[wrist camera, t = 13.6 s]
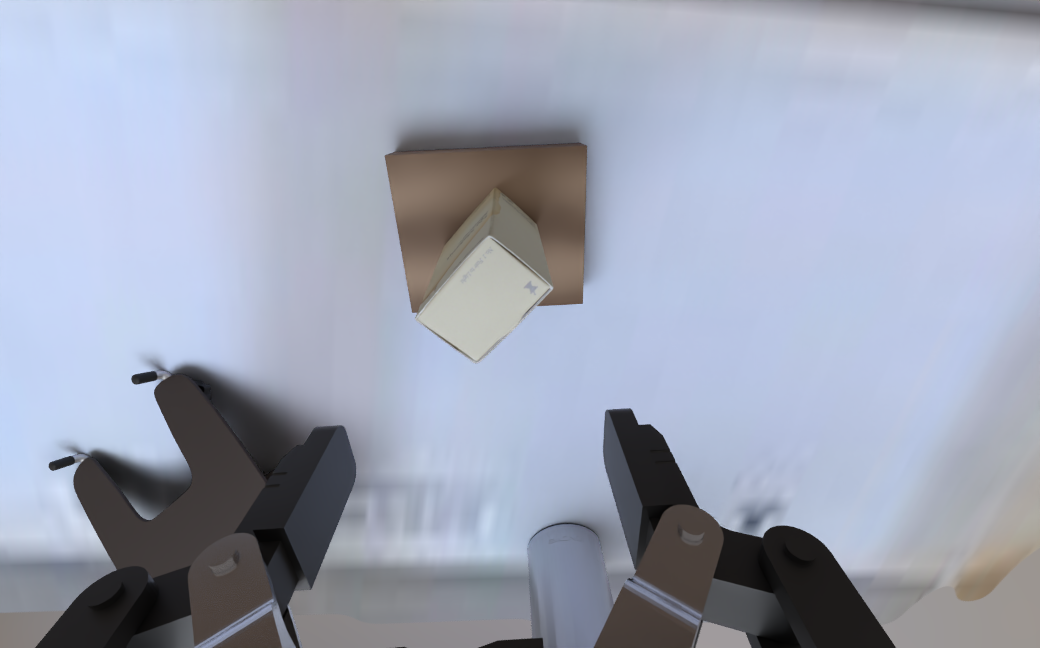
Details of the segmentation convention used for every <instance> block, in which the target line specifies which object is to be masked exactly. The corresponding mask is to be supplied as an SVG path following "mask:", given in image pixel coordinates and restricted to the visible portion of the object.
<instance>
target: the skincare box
mask: <svg viewBox="0 0 1040 648" xmlns="http://www.w3.org/2000/svg"><path fill="white" fill-rule="evenodd" d="M552 290H553V284H552V280H551V276H550V273H549V269H548V265H547V261H546V257H545V254H544V250H543V246H542V242H541V239H540V235H539V230H538V227H537V224H536V223H535V222H534V221H533V220H532V219H531V218H530V217H529V216H527V215H526V214H525V213H524V212H523V211H522V210H521V209H520V208H519V207H518V206H517V205H516V204H515V203H514V202H512V201H511V200H510V199H509V198H508V197H507V196H506V195H504V194H503V193H502V192H501V191H500V190H499V189H497V188H494V189H493V190H492V191H491V192H490V193H489V194H488V196H487V197H486V198H485V199H484V200H483V201H482V202H481V203H480V204H479V206H478V207H477V208H476V209H475V210H474V211H473V212H472V214H471V215H470V216H469V217H468V218H467V219H466V221H465V222H464V223H463V224H462V225H461V227H460V228H459V229H458V230H457V231H456V233H455V234H454V235H453V236H452V237H451V239H450V240H449V241H448V242H447V243H446V245H445V246H444V248H443V250H442V253H441V255H440V258H439V260H438V262H437V265H436V267H435V270H434V272H433V275H432V277H431V280H430V283H429V285H428V288H427V290H426V292H425V295H424V298H423V300H422V303H421V305H420V307H419V310H418V313H417V315H416V317H415V319H416V321H417V322H419V323H420V324H421V325H423V326H424V327H425V328H427V329H428V330H429V331H431V332H432V333H433V334H435V335H436V336H437V337H439V338H440V339H441V340H443V341H444V342H445V343H447V344H448V345H450V346H451V347H452V348H454V349H455V350H456V351H458V352H459V353H461V354H462V355H464V356H465V357H466V358H468V359H469V360H470V361H472V362H473V363H479V362H481V361H482V360H483V359H484V358H485V357H486V356H487V355H488V354H489V353H490V352H491V351H492V350H493V349H494V348H495V347H496V346H497V345H498V344H499V343H500V342H502V341H503V340H504V339H505V338H506V337H507V336H508V335H509V334H510V333H511V332H512V331H513V330H514V329H515V328H516V327H517V326H518V325H519V324H520V323H521V322H522V321H523V320H524V319H525V318H526V317H527V316H528V315H529V313H530V312H531V311H532V310H533V309H534V308H535V307H536V306H537V305H538V304H539V303H540V302H541V301H542V300H543V299H544V298H545V297H546V296H547V295H548V294H549V293H550V292H551V291H552Z"/></svg>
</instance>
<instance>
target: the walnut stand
mask: <svg viewBox="0 0 1040 648" xmlns="http://www.w3.org/2000/svg"><path fill="white" fill-rule="evenodd" d="M385 160H386V165H387V171H388V177H389V182H390V188H391V194H392V200H393V205H394V211H395V217H396V222H397V228H398V234H399V239H400V245H401V251H402V257H403V262H404V268H405V274H406V279H407V285H408V291H409V297H410V302H411V308H412V313H415V312H418V310H419V307H420V305H421V303H422V300H423V298H424V295H425V292H426V290H427V288H428V285H429V283H430V280H431V277H432V275H433V272H434V270H435V267H436V265H437V262H438V260H439V258H440V255H441V253H442V250H443V248H444V246H445V245H446V243H447V242H448V241H449V240H450V239H451V237H452V236H453V235H454V234H455V233H456V231H457V230H458V229H459V228H460V227H461V225H462V224H463V223H464V222H465V221H466V219H467V218H468V217H469V216H470V215H471V214H472V212H473V211H474V210H475V209H476V208H477V207H478V206H479V204H480V203H481V202H482V201H483V200H484V199H485V198H486V197H487V196H488V194H489V193H490V192H491V191H492V190H493V189H494V188H497V189H499V190H500V191H501V192H502V193H503V194H504V195H506V196H507V197H508V198H509V199H510V200H511V201H512V202H514V203H515V204H516V205H517V206H518V207H519V208H520V209H521V210H522V211H523V212H524V213H525V214H526V215H527V216H529V217H530V218H531V219H532V220H533V221H534V222H535V223H536V224H537V227H538V230H539V235H540V239H541V242H542V246H543V250H544V254H545V257H546V261H547V265H548V269H549V273H550V276H551V280H552V284H553V290H552V291H551V292H550V293H549V294H548V295H547V296H546V297H545V298H544V299H543V300H542V301H541V302H540V303H539V304H538V305H537V306H548V305H567V304H583V274H584V238H585V202H586V165H587V146H586V145H584V144H582V143H568V144H547V145H526V146H506V147H485V148H464V149H444V150H423V151H402V152H393V153H390V154H388V155H385Z"/></svg>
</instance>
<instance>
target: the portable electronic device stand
mask: <svg viewBox="0 0 1040 648" xmlns="http://www.w3.org/2000/svg"><path fill="white" fill-rule="evenodd" d="M131 379H132V382H133V383H134V384H141V383H146V382H151V381H155V380H158V379H162V380H163V381H162V382H161V383H160V384H159V385H157V387H156V388H155V390H154V395H155V398H156V401H157V403H158V405H159V407H160V410H161V412H162V414H163V416H164V418H165V420H166V422H167V425H168V427H169V429H170V431H171V433H172V435H173V437H174V439H175V441H176V443H177V444H178V446H179V448H180V450H181V452H182V454H183V455H184V457H185V459H186V461H187V463H188V465H189V467H190V470H191V473H192V483H191V485H190V487H189V489H188V490H187V491H186V492H185V493H184V494H182V495H181V496H180V497H179V498H178V499H177V500H176V501H175V502H173V503H172V504H171V505H170V506H169V507H168V508H166V509H165V510H164V511H163V512H162V513H160V514H159V515H158V516H157V517H155V518H154V519H153V520H146V519H144V518H142V517H141V516H140V515H139V514H138V513H137V512H136V510H135V509H134V508H133V506H132V505H131V503H130V502H129V501H128V499H127V498H126V497H125V495H124V494H123V492H122V491H121V490H120V488H119V487H118V486H117V485H116V483H115V482H114V481H113V480H112V478H111V477H110V476H109V475H108V474H107V472H106V471H105V470H104V469H103V468H102V466H101V465H100V464H99V463H98V462H97V460H96V459H94V458H93V457H90V456H88V455H86V454H77V455H73V456H69V457H65V458H62V459H59V460H56V461H53V462H50V463H49V468H50V470H52V471H54V470H57V469H60V468H63V467H66V466H69V465H72V464H74V463H77V462H81V464H80V465H79V467H78V468H77V470H76V472H75V475H74V481H73V482H74V489H75V492H76V494H77V496H78V498H79V500H80V502H81V504H82V506H83V508H84V510H85V512H86V514H87V516H88V518H89V520H90V522H91V524H92V526H93V528H94V529H95V531H96V533H97V535H98V537H99V539H100V540H101V542H102V544H103V546H104V548H105V549H106V551H107V553H108V555H109V557H110V558H111V560H112V562H113V563H114V565H115V567H116V569H117V570H119V569H122V568H125V567H130V566H140V567H143V568H145V569H146V570H147V572H148V573H149V574H150V576H151V577H152V578H154V577H157V576H160V575H163V574H166V573H169V572H172V571H175V570H178V569H181V568H184V567H187V566H190V565H192V564H193V562H194V561H195V559H196V558H197V557H198V556H199V555H200V554H201V553H202V552H203V551H204V550H205V549H206V548H207V547H208V546H210V545H211V544H213V543H214V542H216V541H218V540H219V539H221V538H224V537H226V536H229V535H232V534H234V532H235V531H236V529H237V528H238V526H239V524H240V523H241V521H242V520H243V518H244V517H245V515H246V514H247V512H248V511H249V509H250V507H251V506H252V504H253V503H254V501H255V500H256V498H257V497H258V495H259V493H260V492H261V490H262V489H263V488H265V484H266V483H267V481H268V480H269V478H270V476H273V472H274V470H273V471H271V472H270V473H269V474H268V475H267V476H266V477H265V476H264V475H263V473H262V472H261V470H260V469H259V467H258V466H257V465H256V463H255V462H254V460H253V459H252V457H251V456H250V454H249V453H248V451H247V450H246V448H245V447H244V446H243V444H242V443H241V441H240V440H239V439H238V437H237V436H236V434H235V433H234V432H233V430H232V429H231V428H230V426H229V425H228V424H227V422H226V421H225V420H224V418H223V417H222V416H221V414H220V413H219V412H218V410H217V409H216V408H215V406H214V405H213V404H212V403H211V401H210V400H211V395H210V389H211V387H210V385H208V384H204V383H203V382H202V381H201V380H198V381H193V380H192V379H191V378H190V377H188V376H186V375H184V374H176V375H172V374H170V373H169V372H167V371H162V370H159V371H151V372H146V373H141V374H135V375H133V376H132V378H131Z"/></svg>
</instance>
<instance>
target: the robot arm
mask: <svg viewBox="0 0 1040 648" xmlns="http://www.w3.org/2000/svg"><path fill="white" fill-rule="evenodd" d="M603 455H604V463H605V468H606V472H607V475H608V478H609V482H610V485H611V489H612V492H613V496H614V499H615V502H616V506H617V509H618V513H619V516H620V520H621V523H622V527H623V530H624V533H625V537H626V540H627V544H628V547H629V551H630V554H631V557H632V561H633V564H634V568H635V570H636V573H635V575H634V576H633V578H632V579H630V578H629V579H627V580H626V582H625V583H624V585H623V587H622V589H621V591H620V593H619V595H618V597H617V599H616V602H615V604H614V603H613V598H612V594H611V589H610V585H609V580H608V576H607V571H606V567H605V562H604V558H603V553H602V549H601V545H600V541H599V538H598V537H597V535H596V534H595V533H594V532H593V531H591V530H590V529H588V528H586V527H583V526H580V525H574V524H561V525H555V526H551V527H548V528H546V529H544V530H542V531H540V532H539V533H537V534H536V535H535V536H534V537H533V538H532V539H531V541H530V543H529V545H528V567H529V589H530V608H531V624H532V625H531V627H532V638H531V639H516V640H501V641H496V642H493V643H490V644H487V645H485V646H482V647H479V648H695V647H696V644H697V641H698V637H699V634H700V630H701V627H702V623H703V620H704V621H707V622H711V623H714V624H718V625H721V626H725V627H728V628H732V629H735V630H739V631H742V632H746V635H747V637H748V640H749V642H750V645H751V647H752V648H895V646H894V644H893V643H892V641H891V640H890V638H889V637H888V635H887V634H886V633H885V631H884V629H883V628H882V627H881V625H880V624H879V622H878V621H877V619H876V618H875V616H874V615H873V613H872V612H871V610H870V609H869V608H868V606H867V605H866V603H865V602H864V600H863V599H862V597H861V596H860V594H859V593H858V591H857V590H856V589H855V587H854V586H853V584H852V583H851V581H850V580H849V578H848V577H847V575H846V574H845V572H844V571H843V569H842V568H841V567H840V565H839V564H838V562H837V561H836V559H835V558H834V556H833V555H832V553H831V552H830V551H829V550H828V548H827V547H826V546H825V545H824V544H823V543H822V542H821V541H819V540H818V539H817V538H815V537H814V536H812V535H811V534H809V533H807V532H805V531H803V530H801V529H798V528H795V527H790V526H775V527H772V528H770V529H768V530H767V531H766V532H765V534H764V536H763V538H761V537H756V536H752V535H747V534H743V533H738V532H734V531H731V530H728V529H725V528H723V527H721V526H720V525H719V524H718V522H717V521H716V520H715V519H714V518H713V517H712V516H711V515H710V514H708V513H707V512H705V511H704V510H702V509H700V508H699V507H698V505H697V503H696V501H695V499H694V497H693V495H692V493H691V491H690V489H689V487H688V485H687V483H686V481H685V479H684V477H683V475H682V473H681V471H680V469H679V467H678V465H677V463H675V459H674V457H673V455H672V453H671V452H670V449H669V447H668V445H667V443H666V441H665V439H664V437H663V435H661V434H660V433H659V432H658V431H657V430H656V429H655V428H654V427H653V426H651V425H650V424H647V425H638V423H637V420H636V418H635V416H634V413H633V411H632V410H631V409H630V408H629V409H613V410H606V412H605V424H604V443H603ZM355 478H356V463H355V460H354V456H353V453H352V450H351V446H350V443H349V439H348V436H347V433H346V430H345V428H344V427H343V426H341V425H340V426H324V427H316V428H314V430H313V431H312V433H311V434H310V436H309V437H308V439H307V441H306V442H305V444H304V445H297V446H296V447H295V448H294V449H292V450H291V451H290V452H289V453H288V454H287V455H286V456H284V457H283V458H282V459H281V461H280V463H279V464H278V466H277V467H276V469H275V470H274V472H273V476H270V478H269V480H268V481H267V483H266V484H265V488H263V489H262V490H261V492H260V493H259V495H258V497H257V498H256V500H255V501H254V503H253V504H252V506H251V507H250V509H249V511H248V512H247V514H246V515H245V517H244V518H243V520H242V521H241V523H240V524H239V526H238V528H237V529H236V531H235V532H234V534H232V535H229V536H226V537H224V538H221V539H219V540H218V541H216V542H214V543H213V544H211V545H210V546H208V547H207V548H206V549H205V550H204V551H203V552H202V553H201V554H200V555H199V556H198V557H197V558H196V559H195V561H194V562H193V564H192V565H190V566H187V567H184V568H181V569H178V570H175V571H172V572H169V573H166V574H163V575H160V576H157V577H154V578H152V577H151V576H150V574H149V573H148V572H147V570H146V569H145V568H143V567H140V566H130V567H125V568H122V569H119V570H116V571H114V572H112V573H110V574H108V575H106V576H104V577H102V578H101V579H99V580H97V581H96V582H94V583H93V584H92V585H90V586H89V587H88V588H87V589H85V590H84V591H83V592H82V593H81V594H80V595H79V596H78V597H77V598H76V599H75V600H74V602H73V603H72V604H71V605H70V606H69V608H68V609H67V610H66V611H65V612H64V614H63V615H62V616H61V617H60V618H59V620H58V621H57V622H56V623H55V625H54V626H53V627H52V628H51V629H50V631H49V632H48V633H47V634H46V636H45V637H44V638H43V639H42V640H41V641H40V643H39V644H38V645H37V646H36V647H35V648H302V644H301V641H300V638H299V634H298V631H297V628H296V625H295V621H294V618H293V615H292V612H291V609H290V607H289V605H288V604H289V601H290V599H291V597H292V594H293V592H294V591H298V590H311V589H312V586H313V584H314V581H315V579H316V576H317V574H318V571H319V569H320V567H321V564H322V562H323V559H324V557H325V554H326V552H327V549H328V547H329V544H330V542H331V539H332V537H333V534H334V532H335V530H336V527H337V525H338V522H339V520H340V517H341V515H342V512H343V510H344V507H345V505H346V502H347V500H348V497H349V495H350V493H351V490H352V488H353V485H354V482H355ZM397 648H406V647H397Z"/></svg>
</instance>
